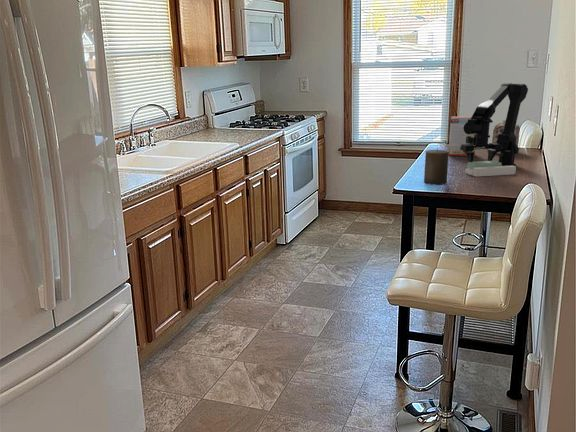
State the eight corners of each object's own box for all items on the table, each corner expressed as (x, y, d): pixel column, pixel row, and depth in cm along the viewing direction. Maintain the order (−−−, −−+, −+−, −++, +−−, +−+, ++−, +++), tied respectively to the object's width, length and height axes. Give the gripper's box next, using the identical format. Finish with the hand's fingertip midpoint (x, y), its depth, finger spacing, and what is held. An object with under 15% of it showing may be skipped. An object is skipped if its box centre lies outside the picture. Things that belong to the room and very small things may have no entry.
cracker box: (475, 154, 311) (478, 116, 305) (475, 156, 305) (478, 117, 299) (448, 153, 315) (451, 115, 309) (448, 155, 310) (450, 116, 304)
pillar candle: (447, 185, 242) (450, 150, 238) (424, 184, 244) (426, 149, 240) (445, 180, 251) (448, 146, 247) (423, 179, 253) (425, 146, 249)
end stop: (505, 170, 271) (505, 163, 270) (516, 174, 262) (516, 166, 261) (464, 172, 266) (465, 165, 265) (474, 176, 258) (475, 169, 257)
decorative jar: (490, 153, 314) (493, 120, 309) (496, 150, 323) (499, 118, 318) (512, 155, 308) (516, 122, 303) (518, 152, 317) (521, 120, 312)
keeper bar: (493, 169, 273) (494, 160, 272) (500, 172, 268) (501, 162, 266) (467, 171, 271) (467, 162, 269) (473, 173, 265) (474, 164, 264)
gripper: (491, 129, 278) (488, 161, 282) (456, 131, 274) (453, 162, 278) (504, 132, 267) (500, 165, 272) (467, 134, 263) (464, 167, 268)
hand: (479, 165), depth 273 cm, fingers open, 9 cm apart
